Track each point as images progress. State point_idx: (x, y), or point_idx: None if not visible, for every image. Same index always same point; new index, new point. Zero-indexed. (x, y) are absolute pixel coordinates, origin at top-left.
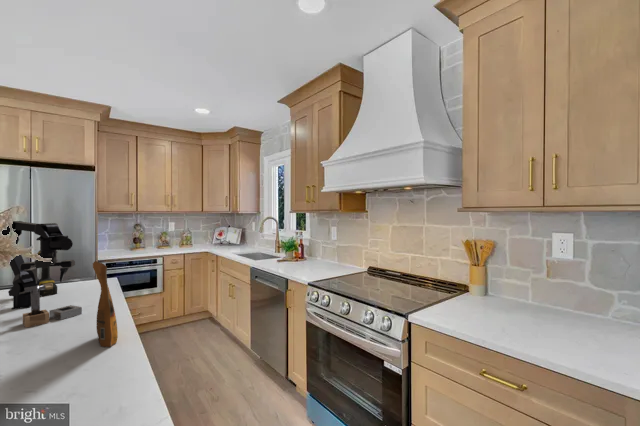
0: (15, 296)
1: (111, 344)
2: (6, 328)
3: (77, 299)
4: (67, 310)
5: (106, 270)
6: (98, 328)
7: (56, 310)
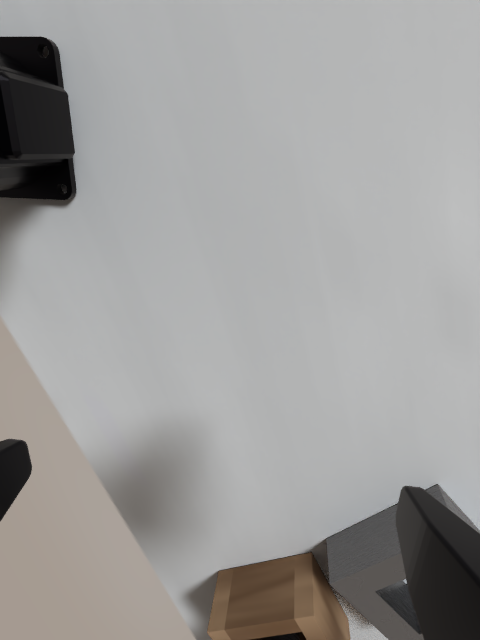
0: None
1: None
2: (175, 599)
3: (475, 6)
4: None
5: None
6: None
7: (375, 605)
